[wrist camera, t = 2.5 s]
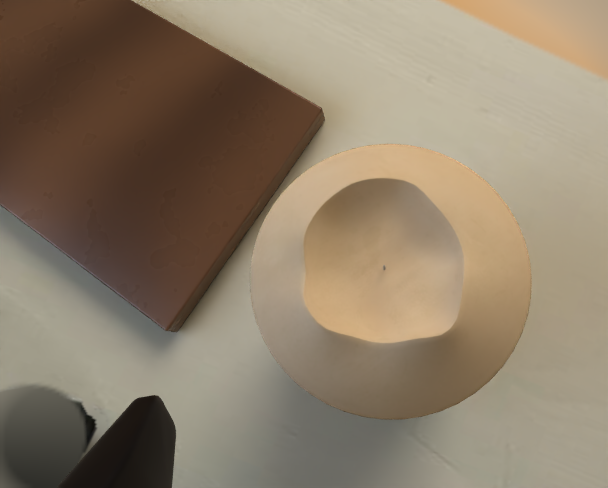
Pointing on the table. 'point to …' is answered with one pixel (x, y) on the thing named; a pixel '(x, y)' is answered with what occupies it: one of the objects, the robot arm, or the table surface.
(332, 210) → the candle
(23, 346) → the table surface
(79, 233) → the walnut board
